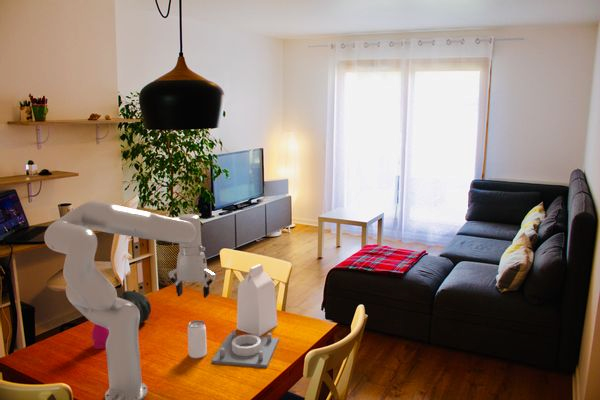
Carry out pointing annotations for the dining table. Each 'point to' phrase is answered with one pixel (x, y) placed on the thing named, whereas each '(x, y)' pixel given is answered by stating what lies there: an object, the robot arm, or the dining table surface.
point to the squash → (138, 303)
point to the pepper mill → (100, 336)
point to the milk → (256, 303)
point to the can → (197, 339)
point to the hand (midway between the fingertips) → (193, 295)
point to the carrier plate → (246, 359)
